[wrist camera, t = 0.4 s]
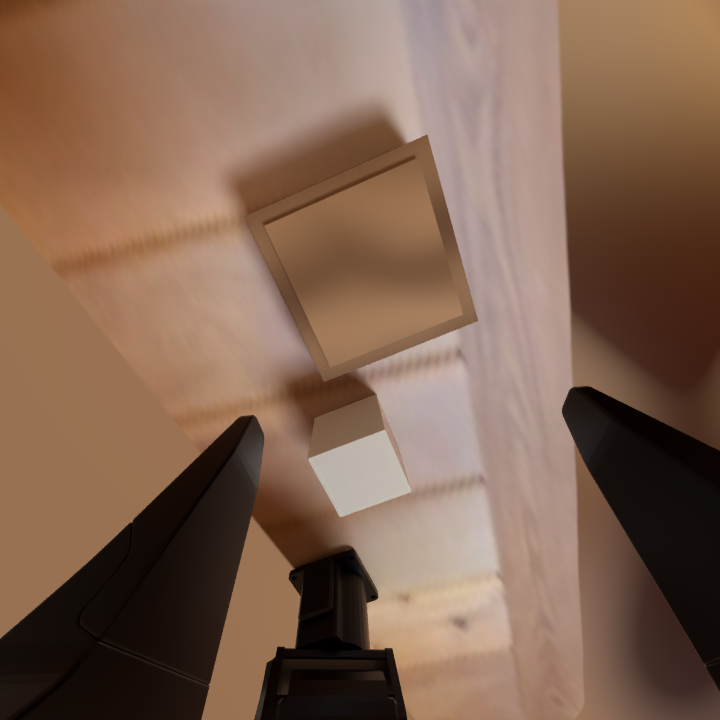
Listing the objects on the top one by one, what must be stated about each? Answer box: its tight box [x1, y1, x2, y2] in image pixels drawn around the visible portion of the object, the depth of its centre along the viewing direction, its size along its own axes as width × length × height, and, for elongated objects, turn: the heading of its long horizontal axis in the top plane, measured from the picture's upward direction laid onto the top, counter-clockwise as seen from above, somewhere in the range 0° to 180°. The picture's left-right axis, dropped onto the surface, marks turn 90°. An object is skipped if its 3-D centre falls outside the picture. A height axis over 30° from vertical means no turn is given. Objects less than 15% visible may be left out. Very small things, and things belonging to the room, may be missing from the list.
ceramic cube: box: [308, 394, 412, 517], centre depth 21 cm, size 5×5×5 cm
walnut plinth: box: [244, 135, 478, 382], centre depth 18 cm, size 10×10×3 cm
